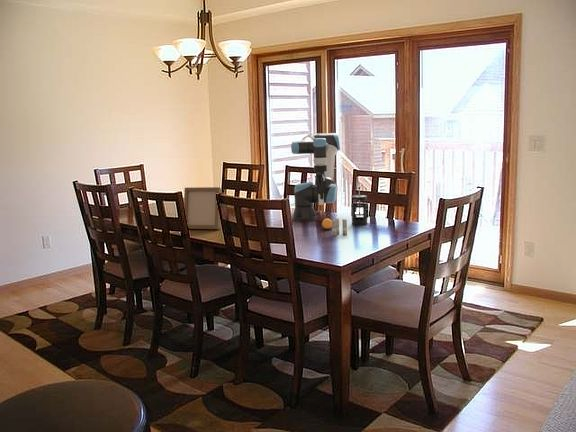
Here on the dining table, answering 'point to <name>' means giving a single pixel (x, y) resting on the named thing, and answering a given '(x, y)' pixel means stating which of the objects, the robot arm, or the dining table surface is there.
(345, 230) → the pin
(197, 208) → the photo frame
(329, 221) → the ball
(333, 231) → the pin
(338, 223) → the pin front
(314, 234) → the dining table surface
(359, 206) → the french press
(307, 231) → the dining table surface
